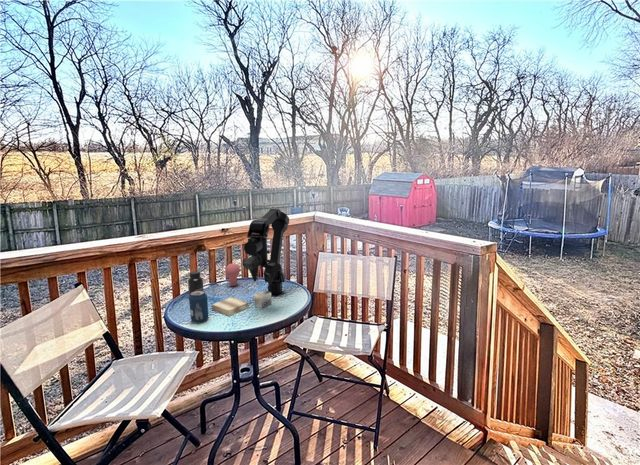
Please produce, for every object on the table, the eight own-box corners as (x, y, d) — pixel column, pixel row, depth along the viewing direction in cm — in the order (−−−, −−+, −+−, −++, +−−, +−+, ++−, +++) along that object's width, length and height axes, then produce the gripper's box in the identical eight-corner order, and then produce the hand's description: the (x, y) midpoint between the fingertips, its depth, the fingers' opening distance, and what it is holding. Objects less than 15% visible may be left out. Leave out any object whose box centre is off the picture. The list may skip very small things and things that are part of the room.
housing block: (264, 302, 172) (263, 290, 171) (271, 304, 169) (271, 292, 168) (254, 306, 167) (254, 293, 166) (261, 309, 165) (261, 296, 163)
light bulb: (227, 289, 189) (226, 266, 187) (225, 284, 196) (223, 262, 193) (242, 287, 192) (240, 264, 189) (239, 282, 198) (237, 260, 196)
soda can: (203, 315, 159) (201, 288, 156) (212, 320, 154) (209, 292, 152) (187, 320, 154) (185, 292, 152) (196, 325, 149) (193, 297, 147)
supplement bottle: (199, 299, 176) (197, 275, 174) (186, 298, 177) (184, 274, 175) (206, 294, 183) (204, 270, 180) (193, 293, 184) (191, 270, 182)
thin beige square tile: (232, 302, 173) (232, 296, 172) (248, 307, 166) (248, 302, 166) (212, 309, 164) (212, 304, 164) (228, 316, 158) (228, 310, 157)
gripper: (231, 249, 162) (234, 284, 166) (262, 256, 151) (263, 293, 154) (251, 244, 171) (252, 277, 174) (281, 250, 160) (282, 285, 163)
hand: (262, 283), depth 166 cm, fingers open, 9 cm apart
